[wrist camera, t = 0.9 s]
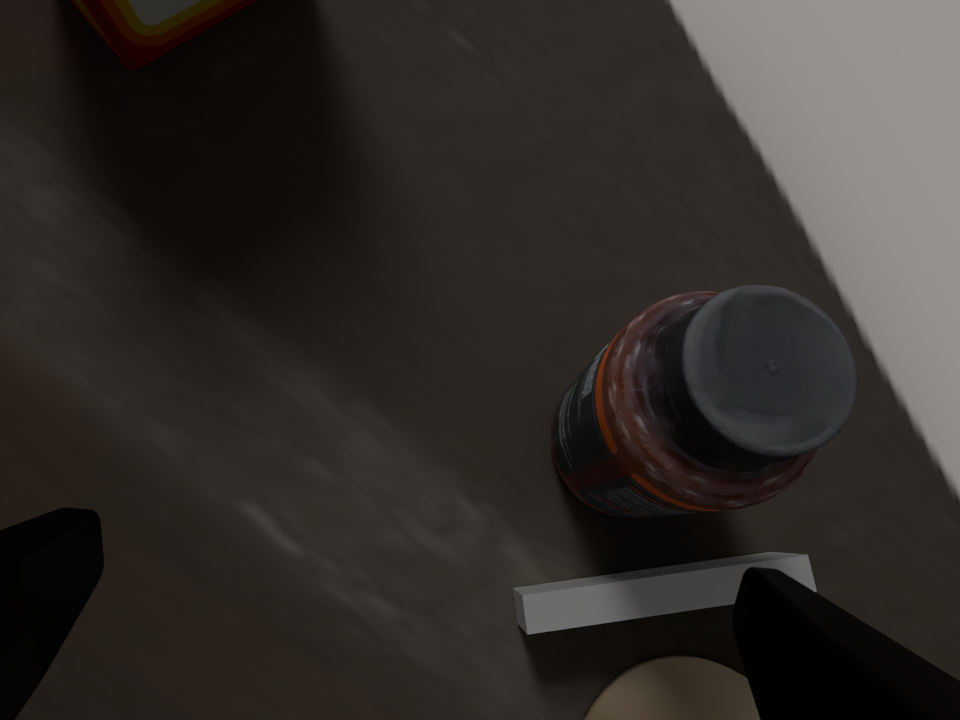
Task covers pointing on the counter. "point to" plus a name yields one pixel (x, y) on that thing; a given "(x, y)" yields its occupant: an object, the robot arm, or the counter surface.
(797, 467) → the supplement bottle
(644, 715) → the oak coaster
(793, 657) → the robot arm
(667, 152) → the counter surface
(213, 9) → the baking soda box
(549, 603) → the grey rectangular bar
